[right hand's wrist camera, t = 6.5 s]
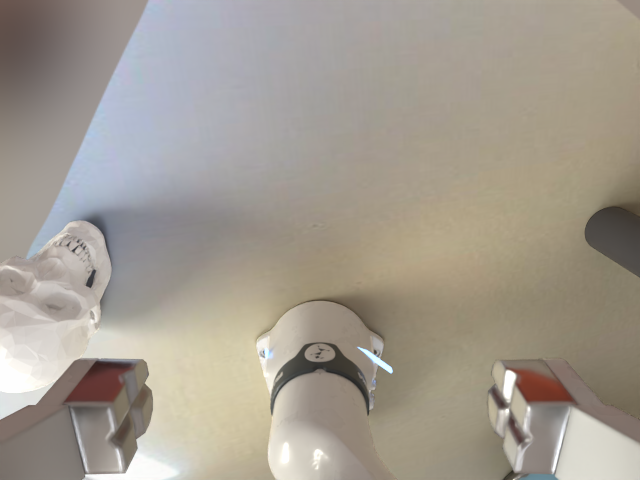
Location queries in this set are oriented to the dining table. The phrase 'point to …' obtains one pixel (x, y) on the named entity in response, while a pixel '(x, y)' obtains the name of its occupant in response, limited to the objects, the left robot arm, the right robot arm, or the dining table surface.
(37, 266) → the skull
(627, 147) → the dining table surface
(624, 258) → the bottle
